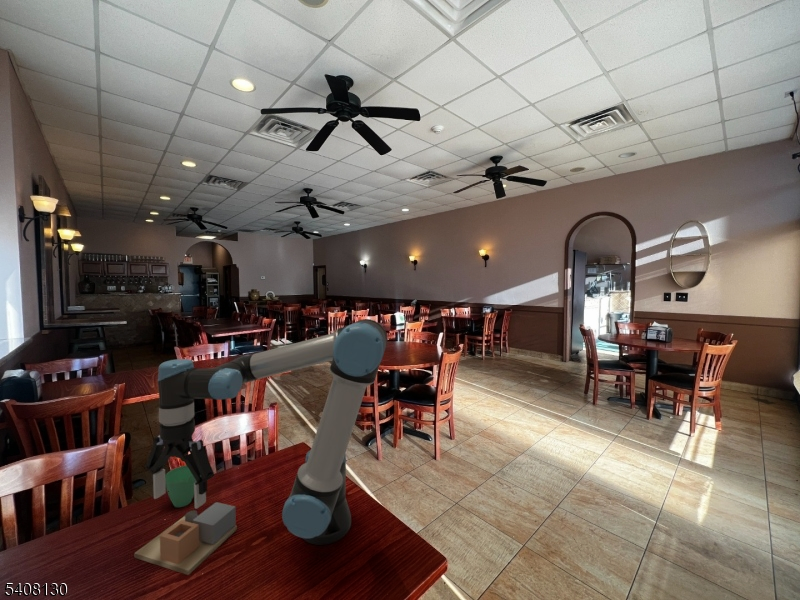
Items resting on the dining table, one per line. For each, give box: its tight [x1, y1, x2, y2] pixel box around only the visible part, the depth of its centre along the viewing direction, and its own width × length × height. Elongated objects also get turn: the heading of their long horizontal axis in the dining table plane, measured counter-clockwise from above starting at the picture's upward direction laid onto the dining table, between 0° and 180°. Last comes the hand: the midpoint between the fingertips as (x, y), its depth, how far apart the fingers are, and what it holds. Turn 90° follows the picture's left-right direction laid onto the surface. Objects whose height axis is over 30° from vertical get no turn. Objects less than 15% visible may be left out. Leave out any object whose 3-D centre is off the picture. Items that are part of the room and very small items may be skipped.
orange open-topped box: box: [160, 520, 199, 564], centre depth 87 cm, size 6×6×6 cm
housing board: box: [133, 509, 238, 576], centre depth 91 cm, size 18×16×6 cm
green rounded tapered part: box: [165, 464, 201, 508], centre depth 110 cm, size 15×10×10 cm
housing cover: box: [193, 501, 237, 544], centre depth 94 cm, size 7×8×5 cm
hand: (179, 500), depth 86 cm, fingers open, 13 cm apart
